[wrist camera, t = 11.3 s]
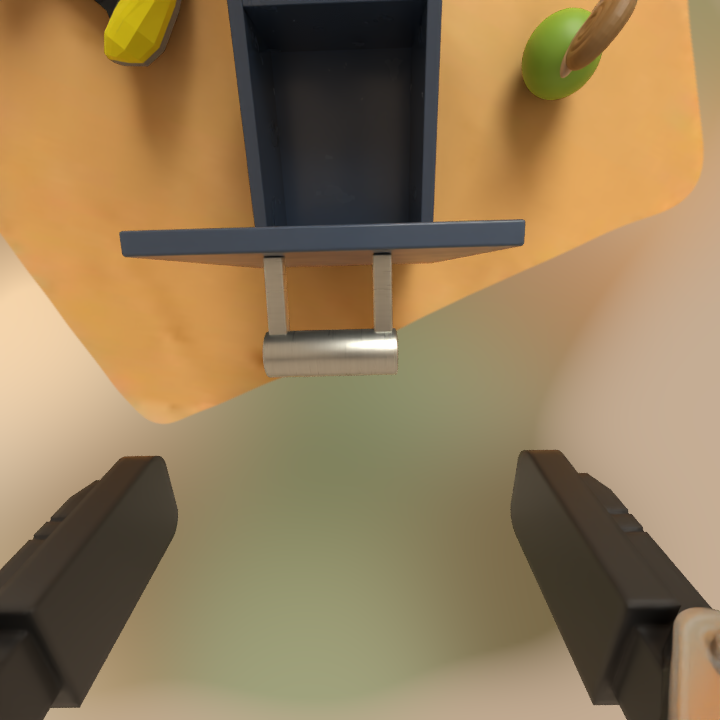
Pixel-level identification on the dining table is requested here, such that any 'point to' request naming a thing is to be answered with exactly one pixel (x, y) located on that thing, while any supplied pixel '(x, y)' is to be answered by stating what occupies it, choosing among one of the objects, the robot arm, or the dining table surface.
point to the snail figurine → (571, 47)
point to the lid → (327, 248)
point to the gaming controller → (138, 29)
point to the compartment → (338, 108)
